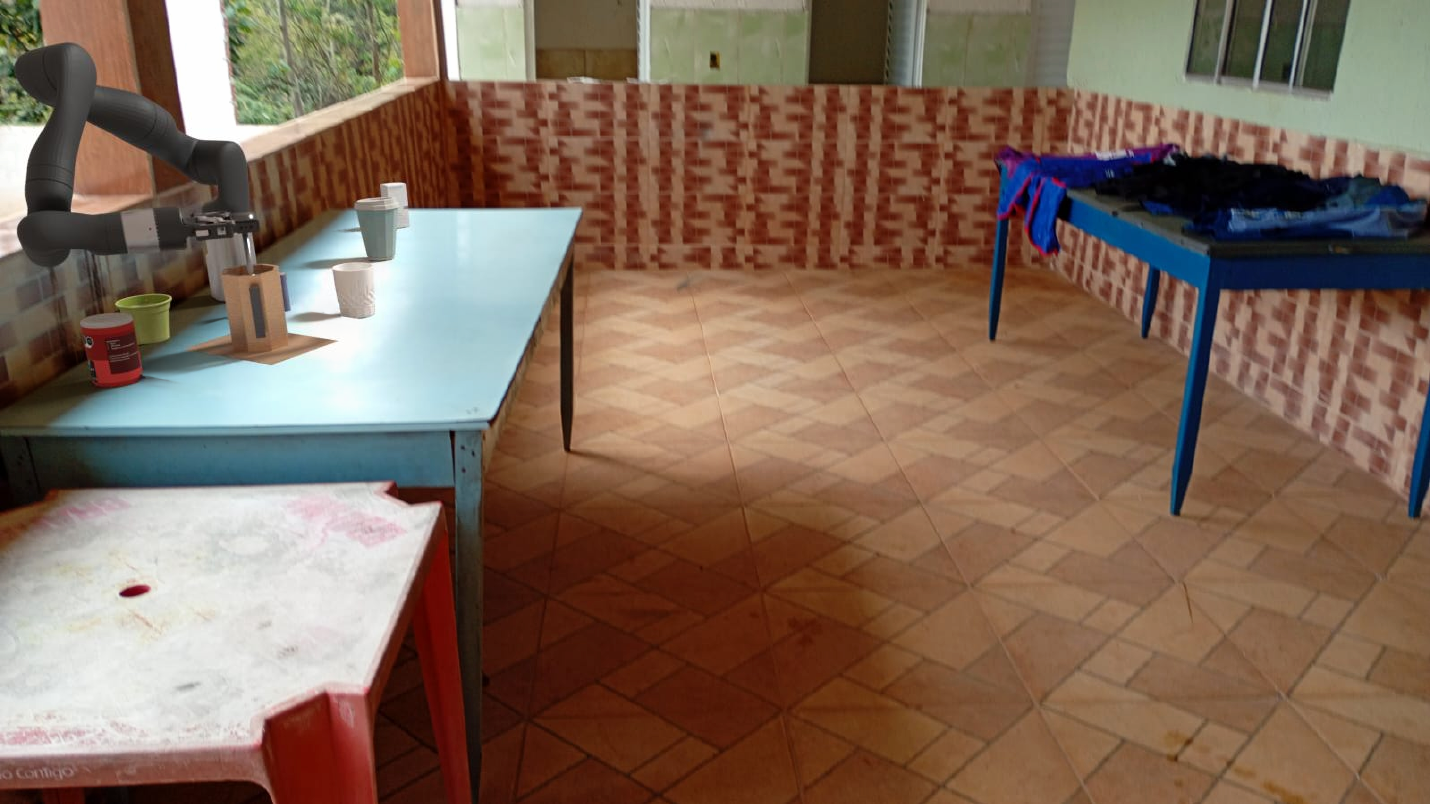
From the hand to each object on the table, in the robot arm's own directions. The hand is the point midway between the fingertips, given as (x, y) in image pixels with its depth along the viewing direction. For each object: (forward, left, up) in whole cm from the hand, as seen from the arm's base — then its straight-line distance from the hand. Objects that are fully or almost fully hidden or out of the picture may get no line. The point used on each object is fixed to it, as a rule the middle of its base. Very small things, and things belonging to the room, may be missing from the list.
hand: (256, 221), depth 201 cm
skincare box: (-59, +101, -24) cm, 120 cm away
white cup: (-3, +25, -24) cm, 35 cm away
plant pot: (-23, -8, -24) cm, 34 cm away
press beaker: (-1, -2, -23) cm, 23 cm away
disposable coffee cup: (-35, +68, -24) cm, 80 cm away
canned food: (-10, -25, -24) cm, 36 cm away
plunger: (-1, -2, -21) cm, 21 cm away
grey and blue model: (-19, +17, -24) cm, 35 cm away
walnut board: (-1, -2, -24) cm, 24 cm away
